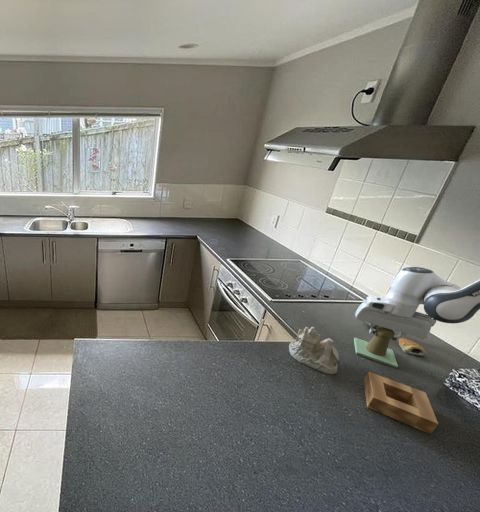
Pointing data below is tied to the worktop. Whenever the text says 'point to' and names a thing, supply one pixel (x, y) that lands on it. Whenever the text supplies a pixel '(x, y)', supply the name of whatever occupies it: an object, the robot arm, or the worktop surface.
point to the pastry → (411, 347)
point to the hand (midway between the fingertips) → (382, 336)
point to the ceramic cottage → (314, 351)
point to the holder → (411, 413)
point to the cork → (380, 341)
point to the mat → (362, 351)
